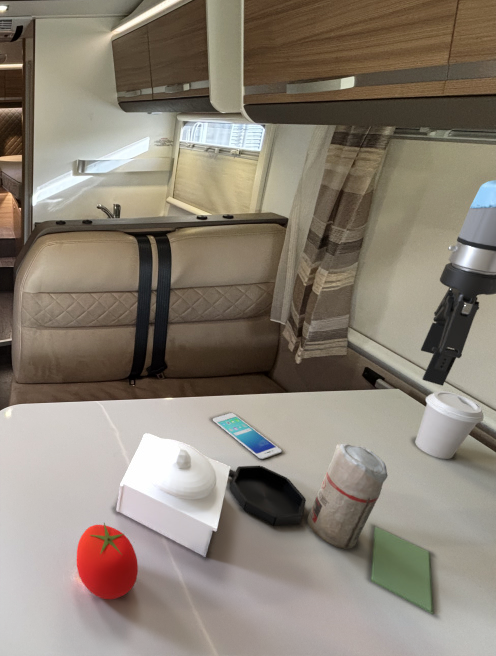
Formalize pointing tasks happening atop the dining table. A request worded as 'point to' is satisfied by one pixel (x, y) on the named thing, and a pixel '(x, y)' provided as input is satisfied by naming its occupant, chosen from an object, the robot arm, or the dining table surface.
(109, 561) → the tomato
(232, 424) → the smartphone
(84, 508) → the dining table surface
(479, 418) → the coffee cup
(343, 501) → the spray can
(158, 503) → the butter dish
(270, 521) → the black octagonal pan
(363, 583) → the dining table surface
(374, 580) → the green flat panel
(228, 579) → the dining table surface
